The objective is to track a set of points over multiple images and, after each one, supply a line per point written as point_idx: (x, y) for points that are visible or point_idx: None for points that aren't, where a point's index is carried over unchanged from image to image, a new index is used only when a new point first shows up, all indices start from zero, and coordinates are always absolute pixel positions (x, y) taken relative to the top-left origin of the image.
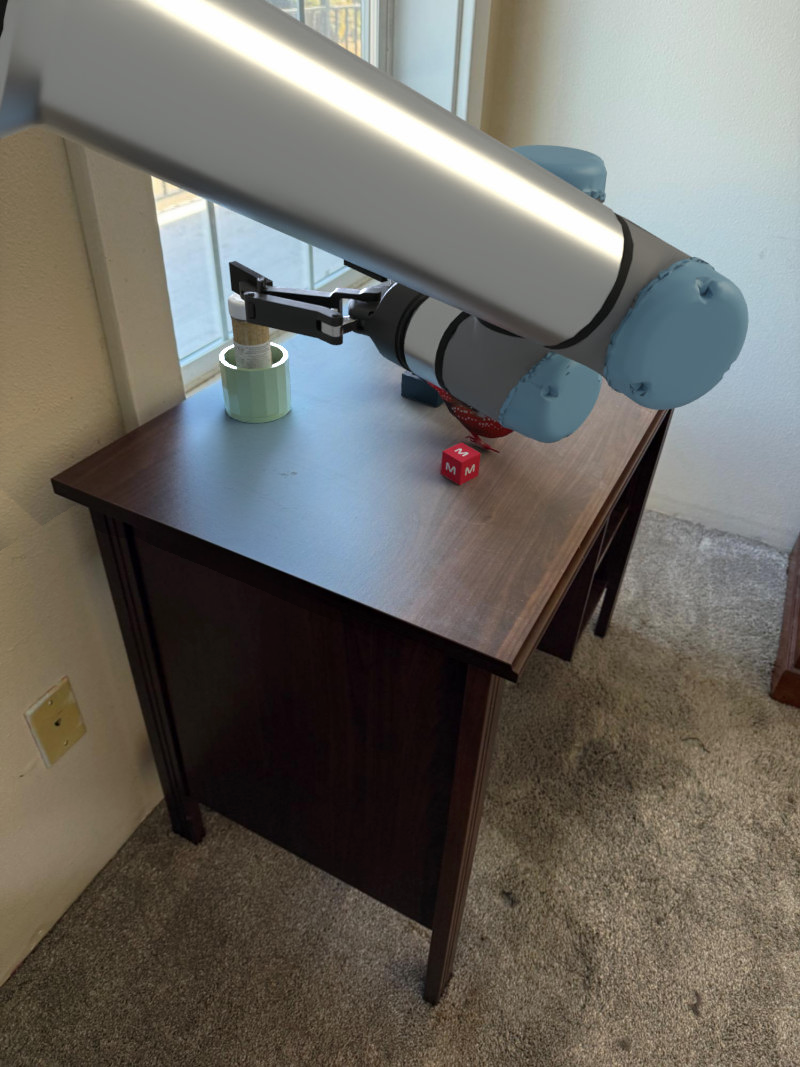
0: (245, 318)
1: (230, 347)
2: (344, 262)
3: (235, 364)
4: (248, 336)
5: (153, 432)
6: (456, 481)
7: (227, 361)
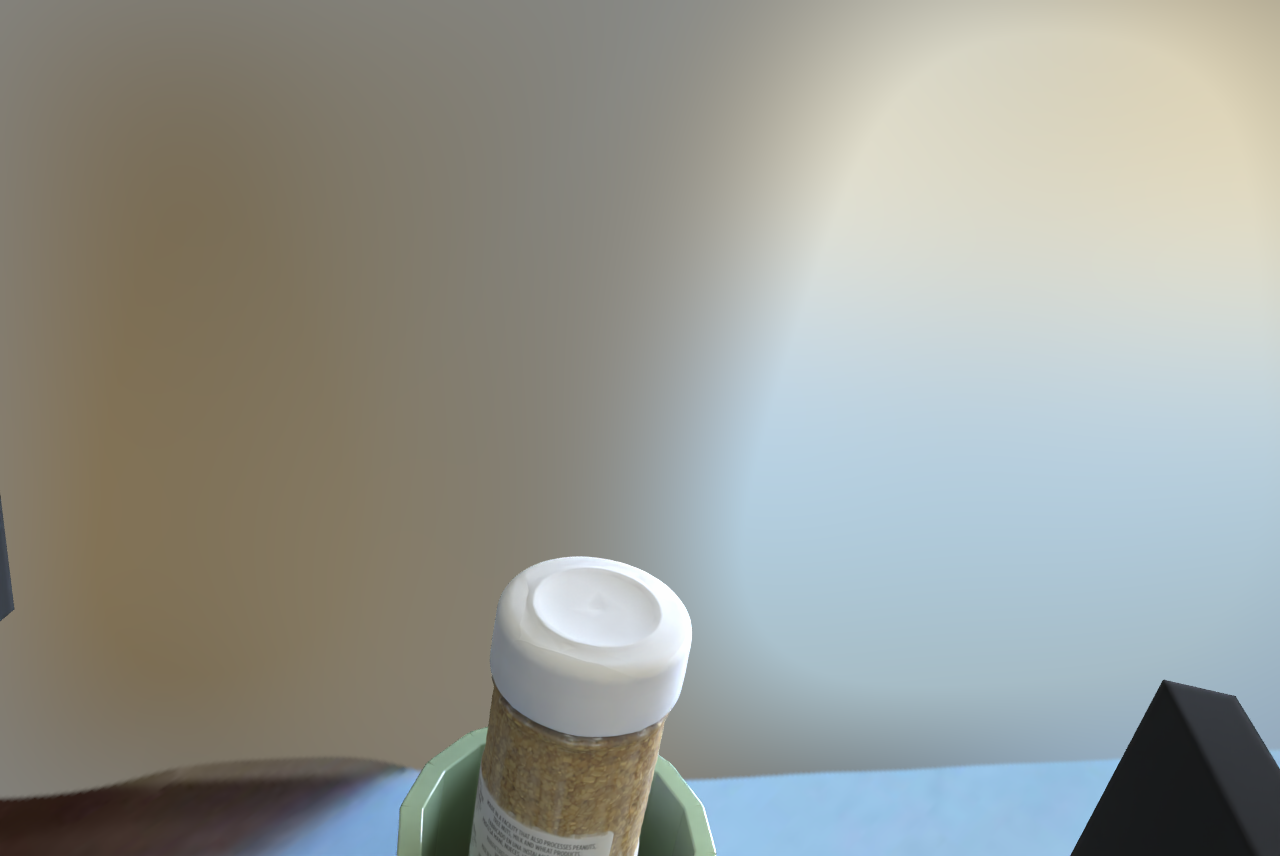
0: (506, 696)
1: None
2: (1081, 852)
3: None
4: (506, 769)
5: (139, 838)
6: None
7: None
